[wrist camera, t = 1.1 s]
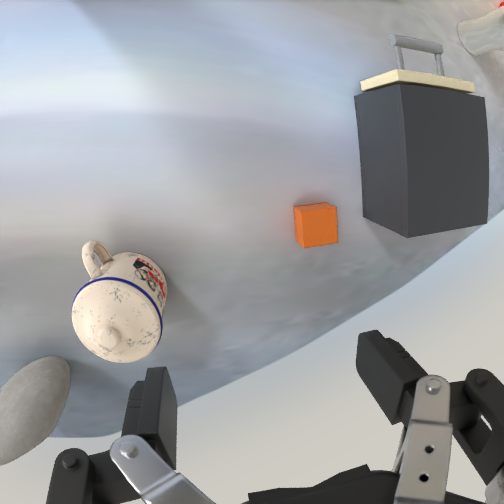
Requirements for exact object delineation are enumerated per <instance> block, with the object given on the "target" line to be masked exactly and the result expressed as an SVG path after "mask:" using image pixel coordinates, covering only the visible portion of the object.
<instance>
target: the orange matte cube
mask: <svg viewBox="0 0 504 504" xmlns="http://www.w3.org/2000/svg"><path fill="white" fill-rule="evenodd" d="M293 208H294V220H295V233H296V241H297V242H298V243H299V244H300V245H301V246H302V247H303V248H308V247H314V246H320V245H327V244H333V243H338V232H337V210H336V207H335V206H333V205H330V204H328V203H319V204H311V205H303V206H295V207H293Z"/></svg>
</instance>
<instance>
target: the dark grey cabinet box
mask: <svg viewBox="0 0 504 504" xmlns="http://www.w3.org/2000/svg"><path fill="white" fill-rule="evenodd" d="M354 99H355V108H356V117H357V127H358V137H359V149H360V162H361V178H362V199H363V217H365V218H367V219H369V220H371V221H373V222H375V223H377V224H379V225H381V226H384V227H386V228H388V229H390V230H392V231H394V232H396V233H398V234H400V235H402V236H404V237H406V238H409V237H415V236H421V235H427V234H432V233H438V232H443V231H449V230H455V229H460V228H466V227H471V226H477V225H482V224H487V217H488V198H489V151H488V131H487V119H486V108H485V99H484V97H480V96H475V95H471V94H466V93H460V92H455V91H449V90H443V89H436V88H429V87H422V86H414V85H405V84H397V85H393V86H389V87H385V88H381V89H378V90H374V91H370V92H367V93H363V94H360V95H357V96H354Z"/></svg>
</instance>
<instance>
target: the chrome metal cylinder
mask: <svg viewBox="0 0 504 504" xmlns="http://www.w3.org/2000/svg"><path fill="white" fill-rule="evenodd" d="M458 35H459V38H460V41H461V43H462V44H463V46H464V47H465V49H466V50H467V51H468V52H469V53H470V54H472V55H474V56H480V55H483V54H485V53H487V52H489V51H495V50H499V51H504V6H501V7H499V8H497V9H495V10H493V11H491V12H490V13H488V14H486V15H485V16H483V17H481V18H479V19H475V20H465V21H461V22H460V23H459V24H458Z"/></svg>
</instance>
